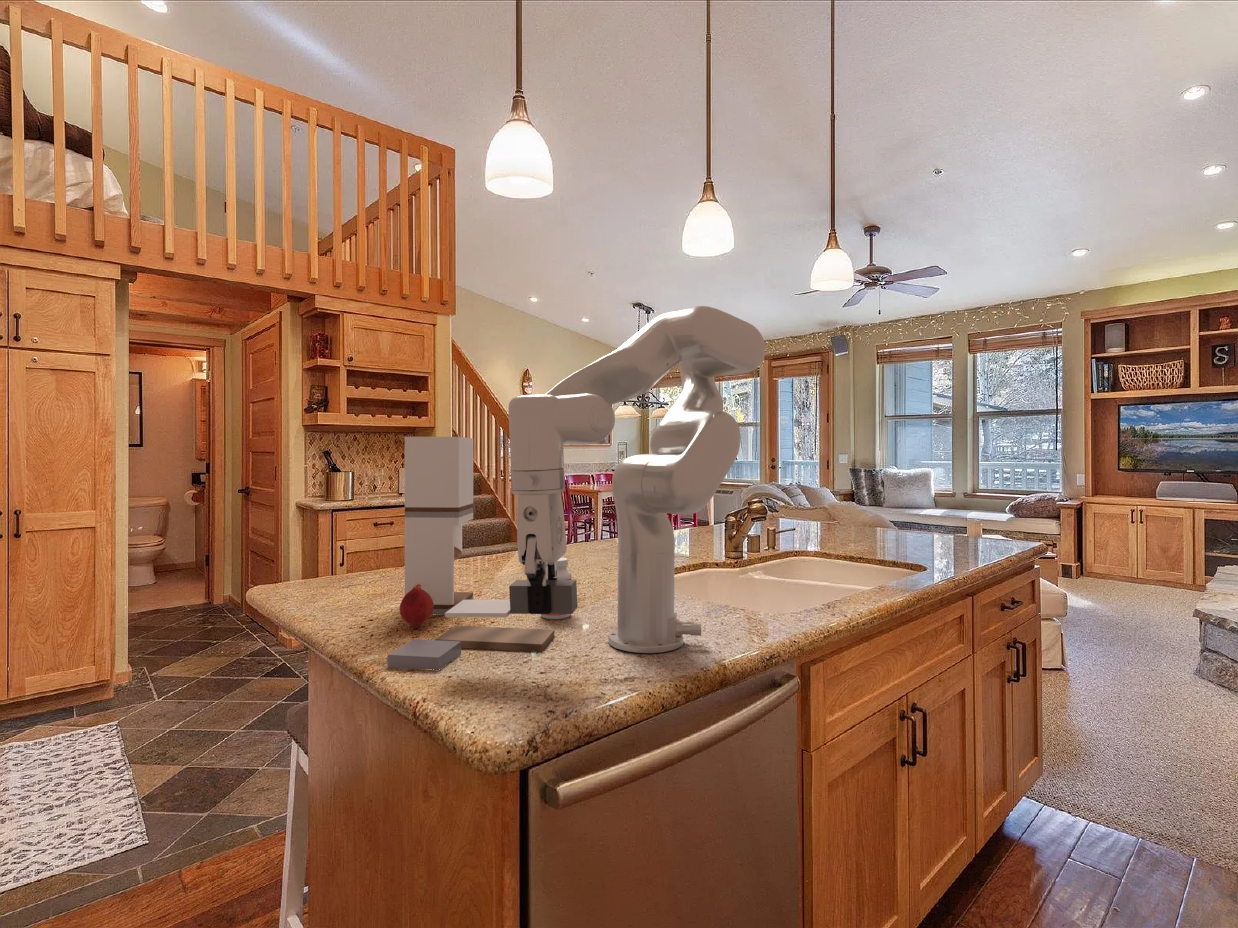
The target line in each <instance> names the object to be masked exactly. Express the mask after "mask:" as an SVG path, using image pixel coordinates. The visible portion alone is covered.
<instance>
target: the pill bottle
mask: <svg viewBox="0 0 1238 928" xmlns="http://www.w3.org/2000/svg"><path fill="white" fill-rule="evenodd" d="M568 560H569V559H568V558H566V557H563V556H562V557H561V558H560V559H559V560H558V561H557V562H556V565H557V577H553V578H557V580H572V572H571V571H570V570H568V569H567V567H568V565H569V563H568V562H569V561H568ZM540 616H541V618H543V619H546V620H563V619H567V618H569V617H571V616H572V614H540Z"/></svg>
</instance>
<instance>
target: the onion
mask: <svg viewBox="0 0 1238 928" xmlns="http://www.w3.org/2000/svg"><path fill="white" fill-rule="evenodd" d="M433 608H434V604H433V600H432V598H431V596H430V595H429V594H428V593H427V592H426V591H424V590H422V589H421V585H420V584H419V583H418V584H415V586H414V587H413V589H412V590H411V591H409V592H408V593H407V594H406V595H405V594H404V596H403V598H402V599H401V602H400V604H399V612H400V616H401V618H402V620H403V621H404V622H405V623H407V624H408V625H410V627H413V628H415V629H419V628H421V626H423V624H425V623H426V622H427V621H428V620H429V619H430V618H431V617H432V616H433V615H432V612H433Z"/></svg>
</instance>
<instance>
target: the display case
mask: <svg viewBox="0 0 1238 928" xmlns="http://www.w3.org/2000/svg"><path fill="white" fill-rule="evenodd" d="M472 520H474V438H473V437H465V436H464V437H463V436H404V596H405V595H406V594H407V593H408V592H409V591H411V590H412V589H413V587H414V586H415V584H418V583H419V584H420V585H421V589H422V590H424V591H426V592H427V593H428V594H429V595H430V596H431V598H432V600H433V604H434V608H433V612H432V614H436V615H435V616H445V613H446V612H447V611H448V610H450V609H451V608H453V607H454V606H455V605H457V604H458V603H460V602H461V601H462V600H474V591H464V592H463V591H455V561H456V560H458V559H459V558H461V557H462V555H463V524H464V523H467V522H469V521H472ZM437 614H438V615H437ZM439 614H440V615H439ZM441 614H442V615H441Z"/></svg>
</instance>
